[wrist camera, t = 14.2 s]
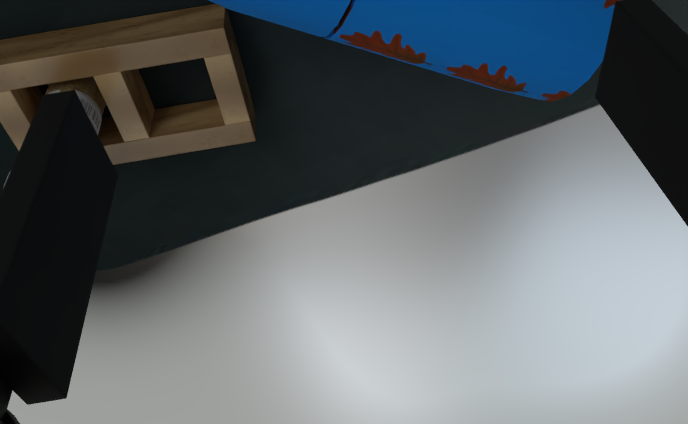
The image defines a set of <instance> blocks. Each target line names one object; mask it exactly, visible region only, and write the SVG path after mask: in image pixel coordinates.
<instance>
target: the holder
mask: <svg viewBox="0 0 688 424" xmlns="http://www.w3.org/2000/svg"><path fill="white" fill-rule="evenodd" d="M199 58H204V60H205V64H206V67H207V70H208V73H209V76H210V79H211V82H212V85H213V89H214V92H215V95H216V98H217V99H213V100H207V101H201V102H195V103H189V104H183V105H177V106H171V107H165V108H159V109H155V108H154V106H153V103H152V101H151V98H150V96H149V94H148V91H147V89H146V86H145V84H144V81H143V79H142V77H141V74H140V72H139V69H140V68H146V67H152V66H158V65H163V64H169V63H175V62H181V61H187V60H193V59H199ZM92 76H93V77H94V79H95V81H96V83H97V85H98V88H99V90H100V92H101V94H102V96H103V98H104V100H105V102H106V104H107V106H108V108H109V111H110V113H111V115H112V116H111V117H105V118H102V122H101V126H100V129H99V133H98V137H99V139H100V141H101V142H102V144H103V146H104V148H105V150H106V152H107V154H108V156H109V158H110V160H111V162H112V164H113V165H115V164H121V163H127V162H133V161H139V160H145V159H151V158H157V157H163V156H169V155H175V154H181V153H187V152H193V151H199V150H205V149H211V148H217V147H223V146H229V145H235V144H241V143H247V142H253V141H256V117H255V109H254V105H253V102H252V98H251V94H250V91H249V87H248V83H247V80H246V76H245V72H244V69H243V65H242V61H241V58H240V54H239V50H238V47H237V43H236V39H235V35H234V32H233V28H232V24H231V21H230V17H229V13H228V10H227V8H225V7H222V6H220V5H218V4H211V5H205V6H199V7H193V8H187V9H181V10H175V11H169V12H163V13H157V14H151V15H145V16H139V17H133V18H127V19H121V20H115V21H109V22H103V23H98V24H92V25H86V26H80V27H74V28H68V29H62V30H56V31H50V32H44V33H38V34H32V35H26V36H20V37H14V38H8V39H2V40H0V122H1V124H2V125H3V127H4V128H5V130H6V131H7V133H8V135H9V136H10V138H11V139H12V141H13V142H14V144H15V145H16V147H17V149H18V150H20V148H21V146H22V143H23V141H24V139H25V136H26V134H27V132H28V129H29V127H30V125H31V122H32V120H33V118H34V115H35V113H36V111H37V108H38V106H39V103H40V101H41V99H42V96H43V94H42V93H41V91H40V89H39V87H38V85H44V84H50V83H56V82H62V81H68V80H74V79H80V78H86V77H92Z"/></svg>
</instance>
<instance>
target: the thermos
mask: <svg viewBox="0 0 688 424" xmlns="http://www.w3.org/2000/svg"><path fill="white" fill-rule="evenodd" d="M209 1H211V2H213V3H215V4H218V5H220V6H222V7H225V8H227V9H229V10H232V11H236V12H239V13H242V14H246V15H249V16H252V17H256V18H259V19H262V20H266V21H269V22H272V23H276V24H279V25H282V26H286V27H289V28H292V29H295V30H299V31H302V32H305V33H309V34H312V35H315V36H319V37H323V38H325V39H329V40H332V41H335V42H339V43H342V44H345V45H349V46H352V47H355V48H359V49H362V50H365V51H369V52H372V53H375V54H378V55H382V56H385V57H388V58H392V59H395V60H398V61H402V62H405V63H408V64H412V65H415V66H418V67H422V68H425V69H428V70H432V71H435V72H438V73H442V74H445V75H448V76H452V77H455V78H458V79H461V80H465V81H468V82H471V83H475V84H478V85H481V86H485V87H488V88H491V89H495V90H499V91H504V92H508V93H512V94H517V95H521V96H525V97H530V98H534V99H538V100H545V101H551V102H553V101H556V100H558V99H561V98H564V97H566V96H569V95H571V94H572V93H573V92H575V91H576V90H577V89H578V88H579V87H581V86H582V85H583V84H584V83H585V82H587V81H588V80H589V79H590V78H591V76H592V75H593V73H594V72H595V71H596V69H597V68H598V67H599V65H600V64H601V63H602V61H603V58H604V54H605V49H606V44H607V40H608V35H609V30H610V25H611V21H612V16H613V11H614V7H615V2H616V1H622V0H209Z"/></svg>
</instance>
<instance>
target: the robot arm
mask: <svg viewBox="0 0 688 424" xmlns="http://www.w3.org/2000/svg"><path fill="white" fill-rule="evenodd" d="M595 98H596V99H597V100H598V102H599V103H600V105H601V106H602V107H603V109H604V110H605V111H606V113H607V114H608V116H609V117H610V118H611V120H612V121H613V123H614V124H615V126H616V127H617V128H618V130H619V131H620V133H621V134H622V135H623V137H624V138H625V139H626V141H627V142H628V143H629V145H630V146H631V148H632V149H633V151H634V152H635V153H636V155H637V156H638V158H639V159H640V160H641V162H642V163H643V165H644V166H645V167H646V169H647V170H648V172H649V173H650V174H651V176H652V177H653V178H654V180H655V181H656V183H657V184H658V186H659V187H660V188H661V190H662V191H663V192H664V194H665V195H666V197H667V198H668V199H669V201H670V202H671V204H672V205H673V206H674V208H675V209H676V211H677V212H678V213H679V215H680V216H681V218H682V219H683V220H684V222H685V223H686V225H687V226H688V35H687V34H686V33H685V32H684V31H683V30H682V29H681V28H680V27H679V26H678V25H677V24H676V23H675V22H673V21H672V20H671V19H670V18H669V17H668V16H667V15H666V14H665V13H664V12H663V11H662V10H661V9H660V8H659V7H658V6H657V5H656V4H655V3H654V2H653V1H652V0H622V1H616V2H615V7H614V11H613V16H612V21H611V25H610V30H609V35H608V40H607V44H606V49H605V54H604V58H603V63H602V68H601V73H600V77H599V82H598V87H597V91H596V96H595ZM117 178H118V174H117V172H116V170H115V168H114V166H113V164H112V162H111V160H110V158H109V156H108V154H107V152H106V150H105V148H104V146H103V144H102V142H101V141H100V139H99V137H98V135H97V133H96V131H95V129H94V127H93V125H92V123H91V121H90V119H89V117H88V115H87V113H86V111H85V109H84V107H83V105H82V103H81V101H80V99H79V97H78V95H77V93H76V91H75V90H70V91H64V92H58V93H52V94H46V95H43V96H42V99H41V101H40V103H39V106H38V108H37V111H36V113H35V115H34V118H33V120H32V122H31V125H30V127H29V129H28V132H27V134H26V136H25V139H24V141H23V143H22V146H21V148H20V150H19V153H18V155H17V157H16V160H15V162H14V164H13V167H12V169H11V171H10V174H9V176H8V179H7V181H6V183H5V186H4V188H3V190H2V193H1V195H0V424H20V423H19V422H18V421H17V419H16V417H15V416H14V415H13V414H12V413H11V412H10V411H9V410H7V406H8V403H9V400H10V397H11V393H12V390H13V391H14V392H15V393H16V394H17V395H18V396H19V397H20V398H21V399H22V400H23V401H24V402H25V403H26V404H34V403H40V402H46V401H53V400H58V399H65V398H66V397H67V393H68V388H69V384H70V380H71V376H72V371H73V367H74V363H75V359H76V354H77V350H78V346H79V341H80V337H81V333H82V328H83V324H84V320H85V315H86V311H87V307H88V303H89V298H90V294H91V290H92V285H93V281H94V277H95V272H96V268H97V264H98V259H99V255H100V251H101V247H102V242H103V238H104V234H105V229H106V225H107V221H108V216H109V212H110V208H111V203H112V199H113V195H114V190H115V186H116V182H117Z"/></svg>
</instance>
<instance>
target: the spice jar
mask: <svg viewBox="0 0 688 424" xmlns="http://www.w3.org/2000/svg"><path fill="white" fill-rule="evenodd" d="M70 90H75V91H76V93H77V95H78V97H79V99H80V101H81V103H82V105H83V107H84V109H85V111H86V113H87V115H88V117H89V119H90V121H91V123H92V125H93V127H94V129H95V131H96V133H97V135H98V133H99V129H100V126H101V122H102V115H103V112H104V108H105V106H106V105H107V104H106V102H105V100H104V98H103V96H102V94H101V92H100V90H99V88H98V85H97V83H96V81H95V79H94V77H93V76H92V77H86V78H80V79H74V80H68V81H62V82H56V83H50V84H48V89H47V91H46V94H52V93H58V92H64V91H70ZM46 94H45V95H46ZM9 174H10V173H9ZM8 176H9V175H8ZM7 179H8V177H7ZM7 179H6V181H7ZM5 183H6V182H5ZM4 186H5V184H4ZM3 188H4V187H3Z"/></svg>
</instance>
